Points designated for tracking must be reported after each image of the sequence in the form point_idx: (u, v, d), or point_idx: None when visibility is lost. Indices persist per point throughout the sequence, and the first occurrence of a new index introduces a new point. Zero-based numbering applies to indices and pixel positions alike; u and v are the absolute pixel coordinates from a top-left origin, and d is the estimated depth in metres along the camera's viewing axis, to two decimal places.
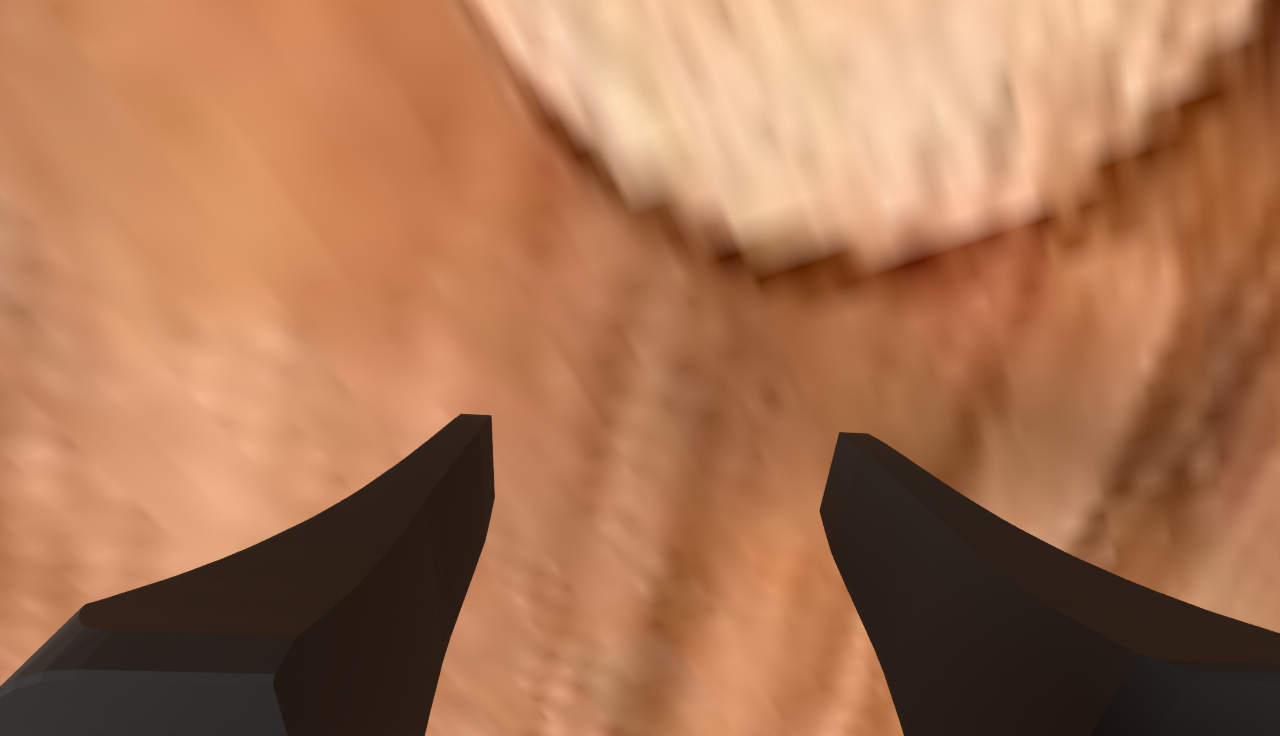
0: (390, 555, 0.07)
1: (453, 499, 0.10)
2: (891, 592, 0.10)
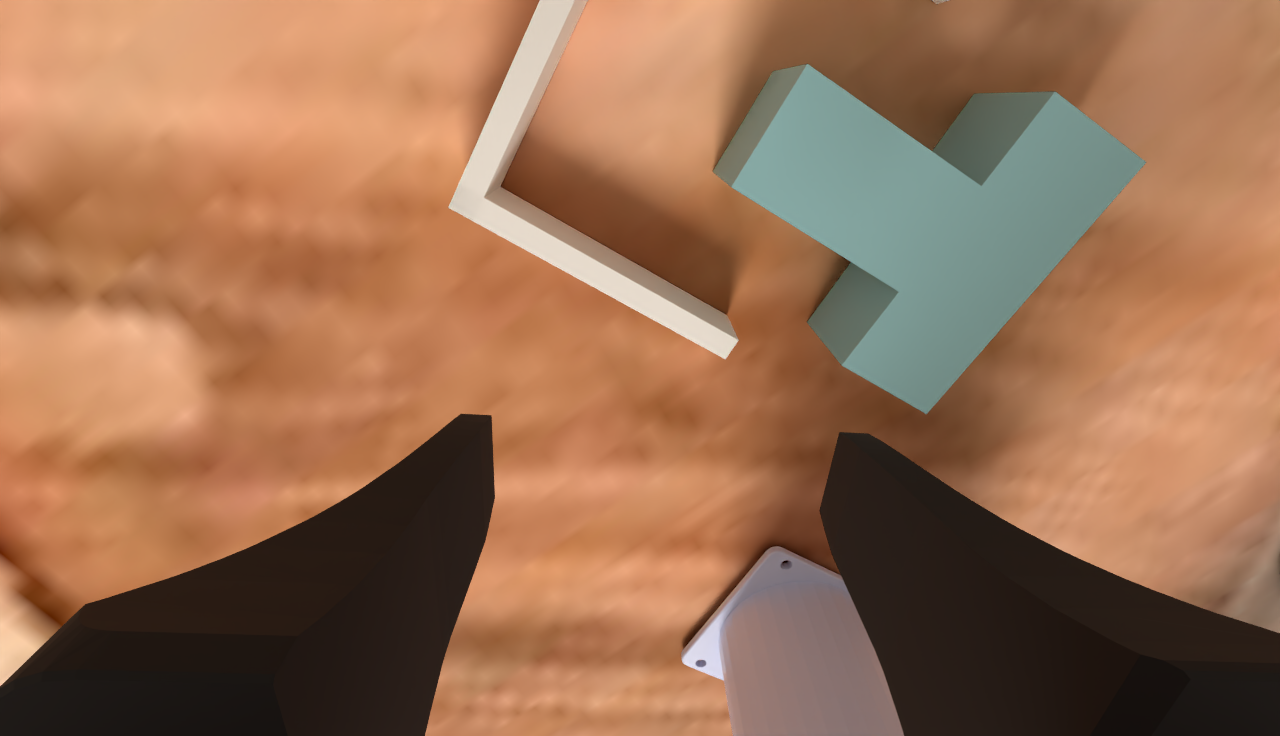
0: (390, 555, 0.07)
1: (453, 499, 0.10)
2: (891, 592, 0.10)
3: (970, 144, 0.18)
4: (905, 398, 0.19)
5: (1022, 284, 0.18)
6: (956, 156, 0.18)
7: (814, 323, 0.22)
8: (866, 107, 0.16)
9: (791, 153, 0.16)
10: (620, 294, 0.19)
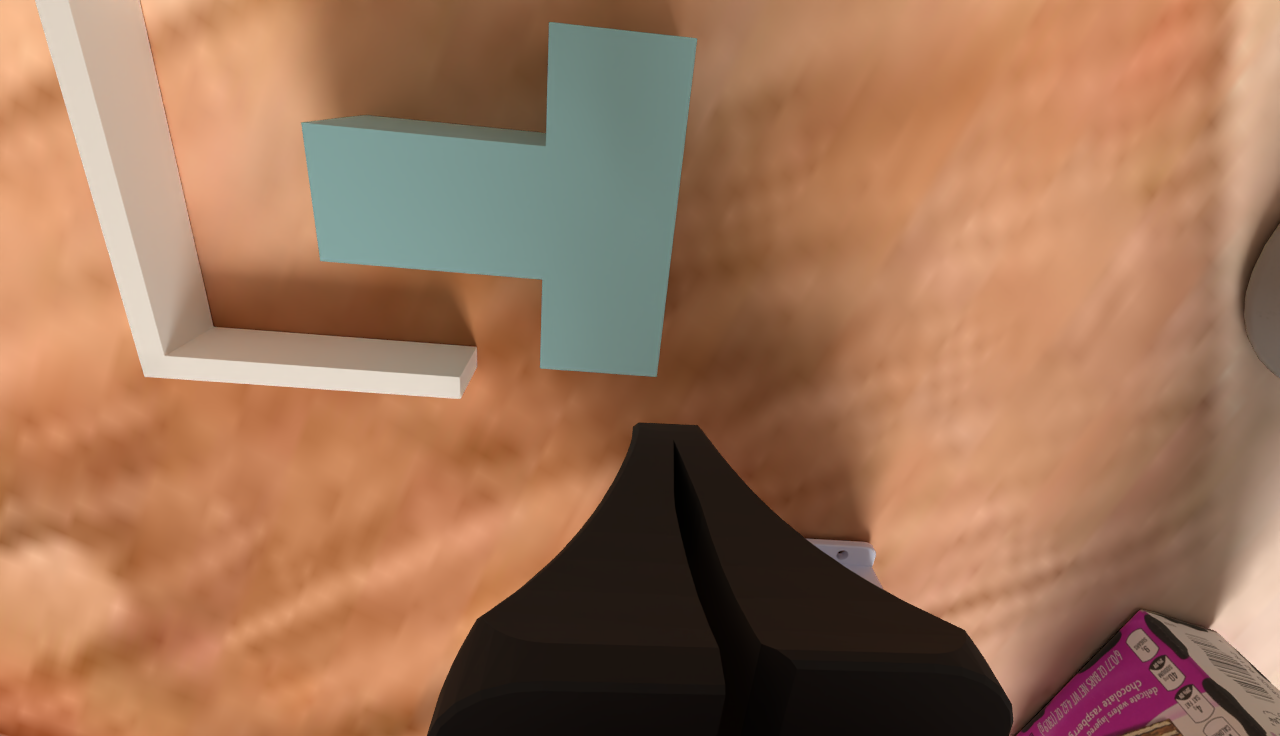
0: None
1: None
2: None
3: None
4: (624, 371, 0.18)
5: (659, 216, 0.16)
6: None
7: None
8: (382, 132, 0.15)
9: (348, 205, 0.16)
10: (330, 383, 0.19)
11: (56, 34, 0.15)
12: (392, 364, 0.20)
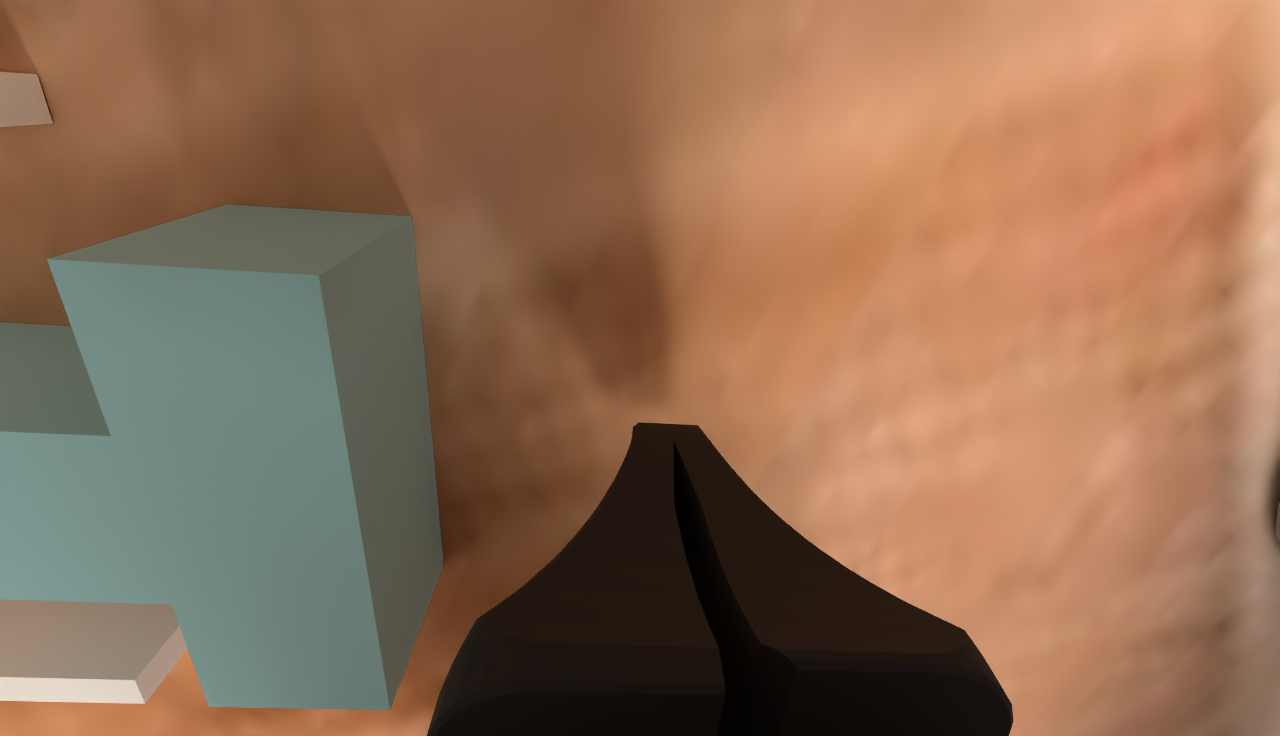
0: None
1: None
2: None
3: None
4: (338, 706, 0.12)
5: (331, 520, 0.10)
6: None
7: None
8: None
9: None
10: None
11: None
12: (48, 654, 0.14)
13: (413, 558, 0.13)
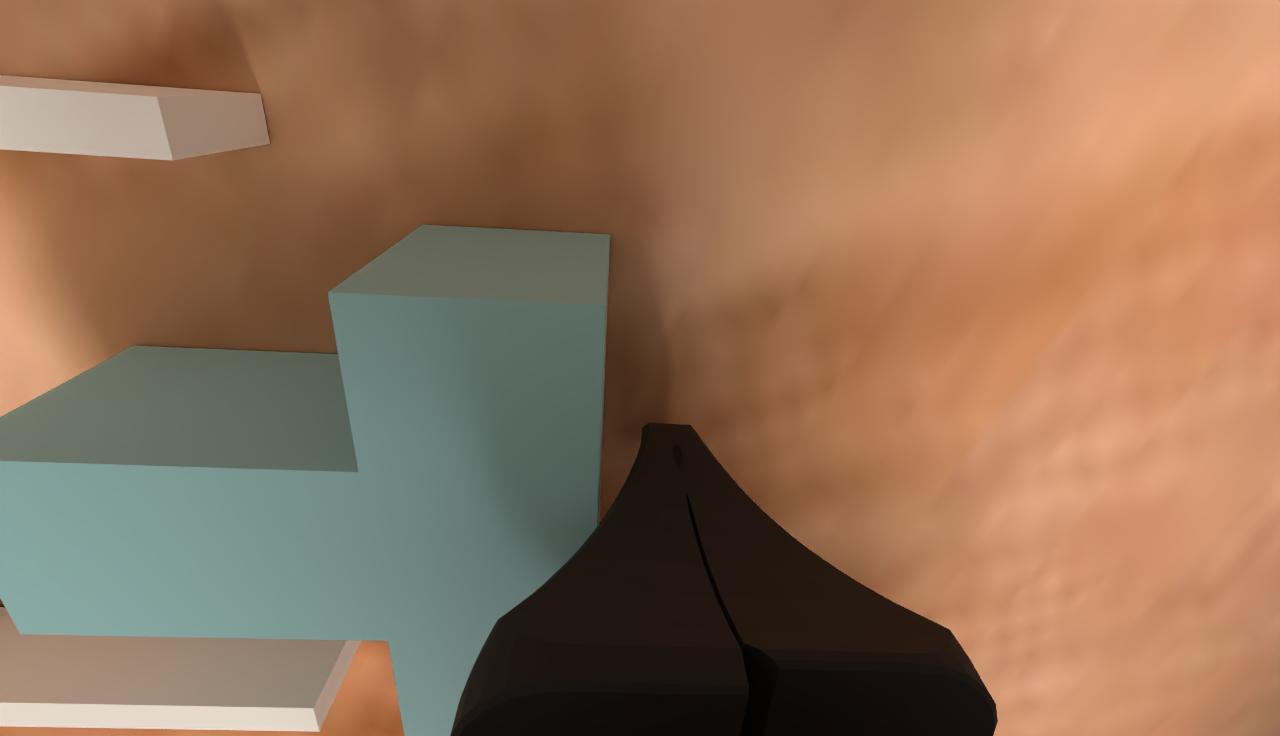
0: None
1: None
2: None
3: None
4: None
5: (567, 555, 0.09)
6: None
7: None
8: (69, 466, 0.08)
9: (42, 565, 0.09)
10: (123, 721, 0.13)
11: None
12: (219, 681, 0.14)
13: None
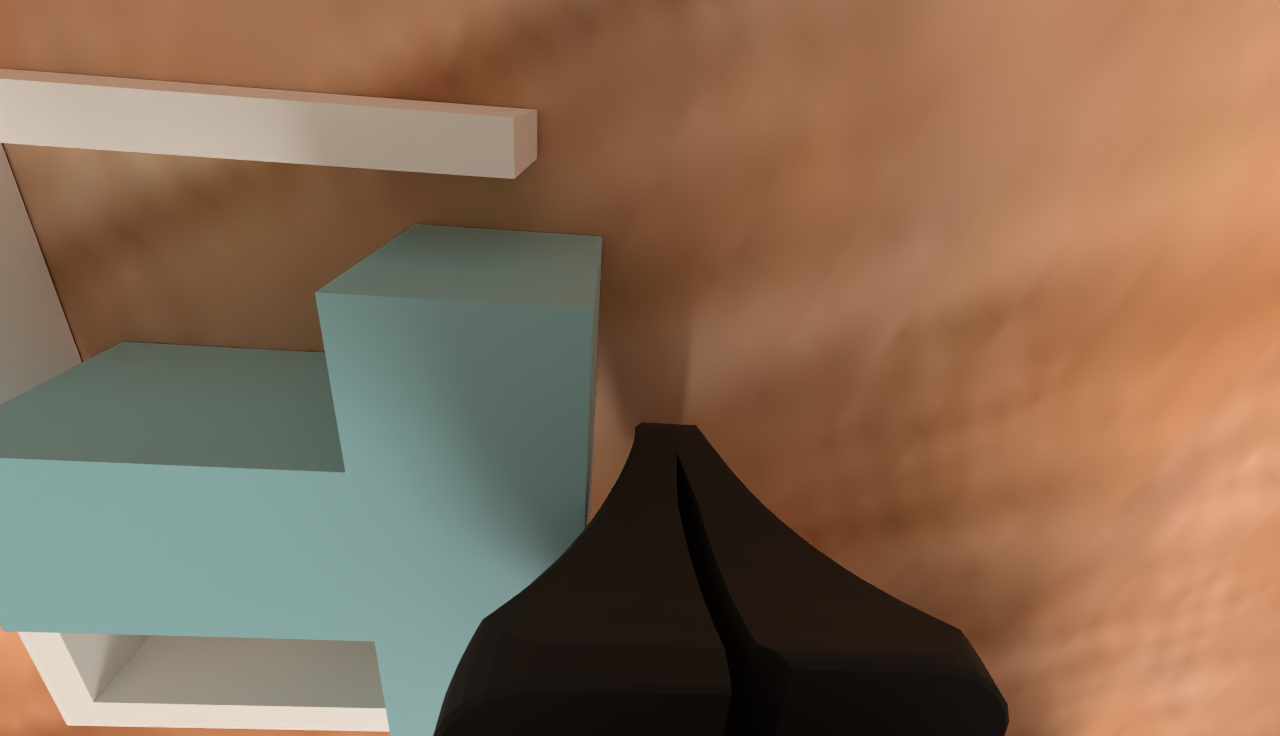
0: None
1: None
2: None
3: None
4: None
5: (554, 557, 0.09)
6: None
7: None
8: (53, 463, 0.08)
9: (26, 561, 0.09)
10: (336, 724, 0.13)
11: None
12: None
13: None
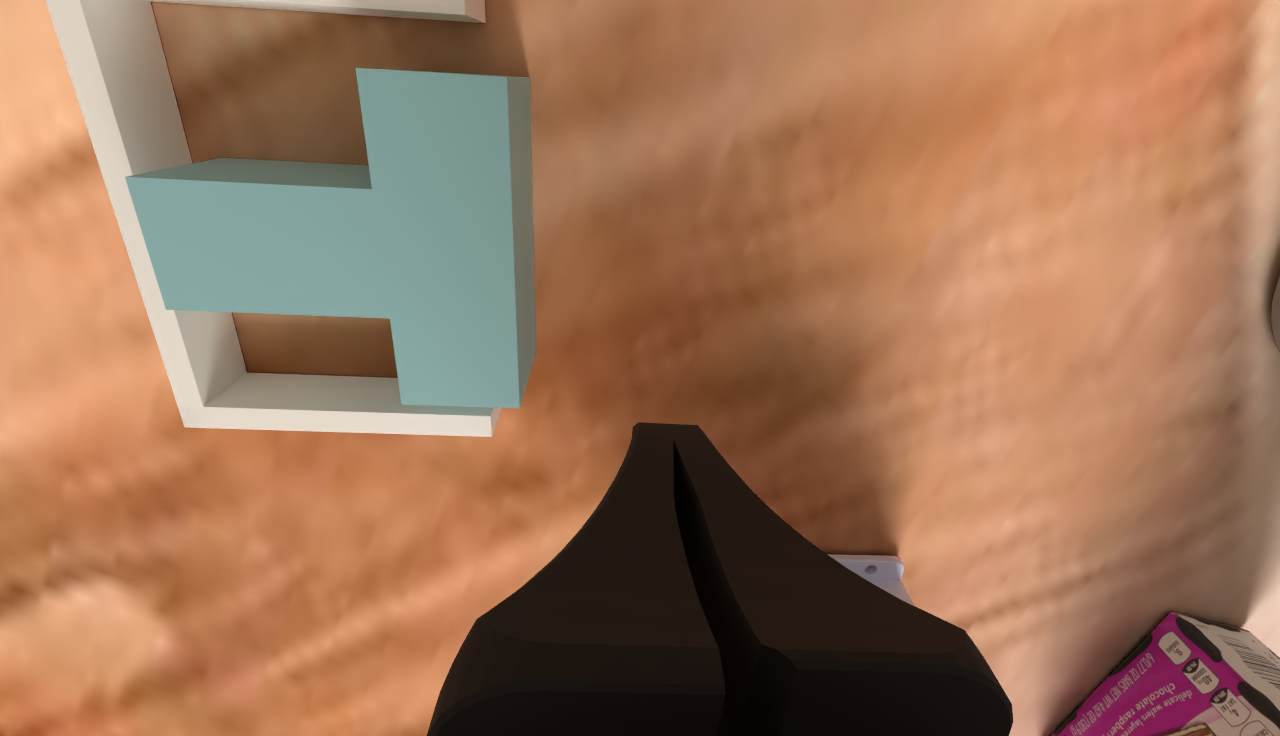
0: None
1: None
2: None
3: None
4: (486, 404, 0.18)
5: (496, 252, 0.16)
6: None
7: None
8: (206, 182, 0.15)
9: (184, 255, 0.16)
10: (364, 427, 0.20)
11: (91, 107, 0.15)
12: (423, 405, 0.20)
13: (527, 319, 0.19)
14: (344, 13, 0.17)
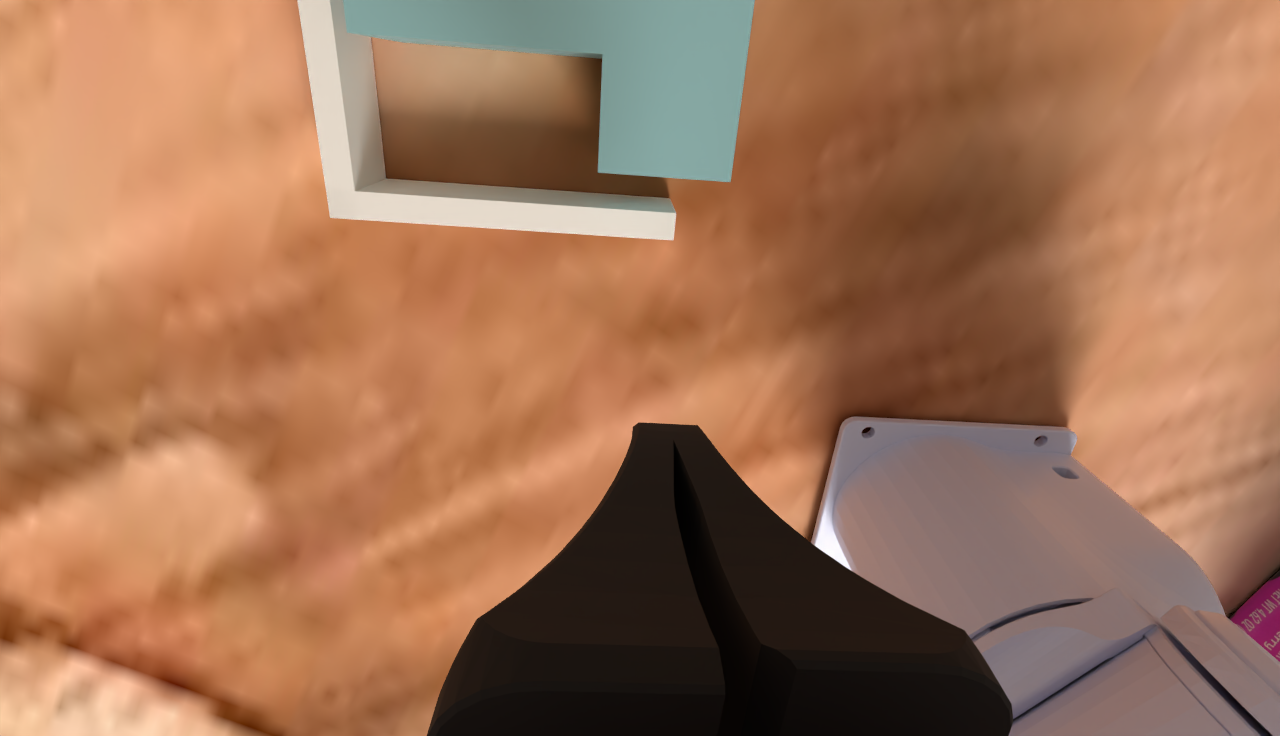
0: None
1: None
2: None
3: None
4: (693, 175, 0.16)
5: None
6: None
7: None
8: None
9: None
10: (532, 223, 0.17)
11: None
12: (596, 204, 0.18)
13: None
14: None
